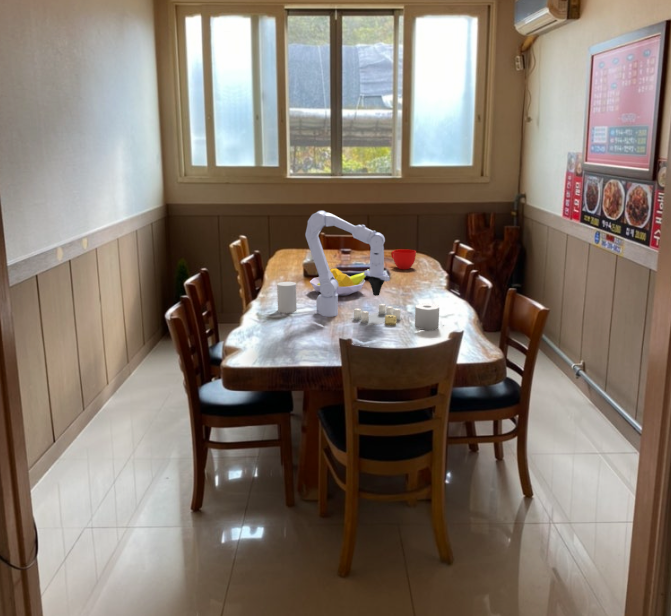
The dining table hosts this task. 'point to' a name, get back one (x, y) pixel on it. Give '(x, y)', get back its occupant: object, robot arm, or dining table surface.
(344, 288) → the fruit bowl
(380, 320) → the field board
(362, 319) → the spacers
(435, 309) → the toilet tissue
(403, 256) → the ceramic cup
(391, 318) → the brass nut
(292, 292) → the cup
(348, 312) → the dining table surface
